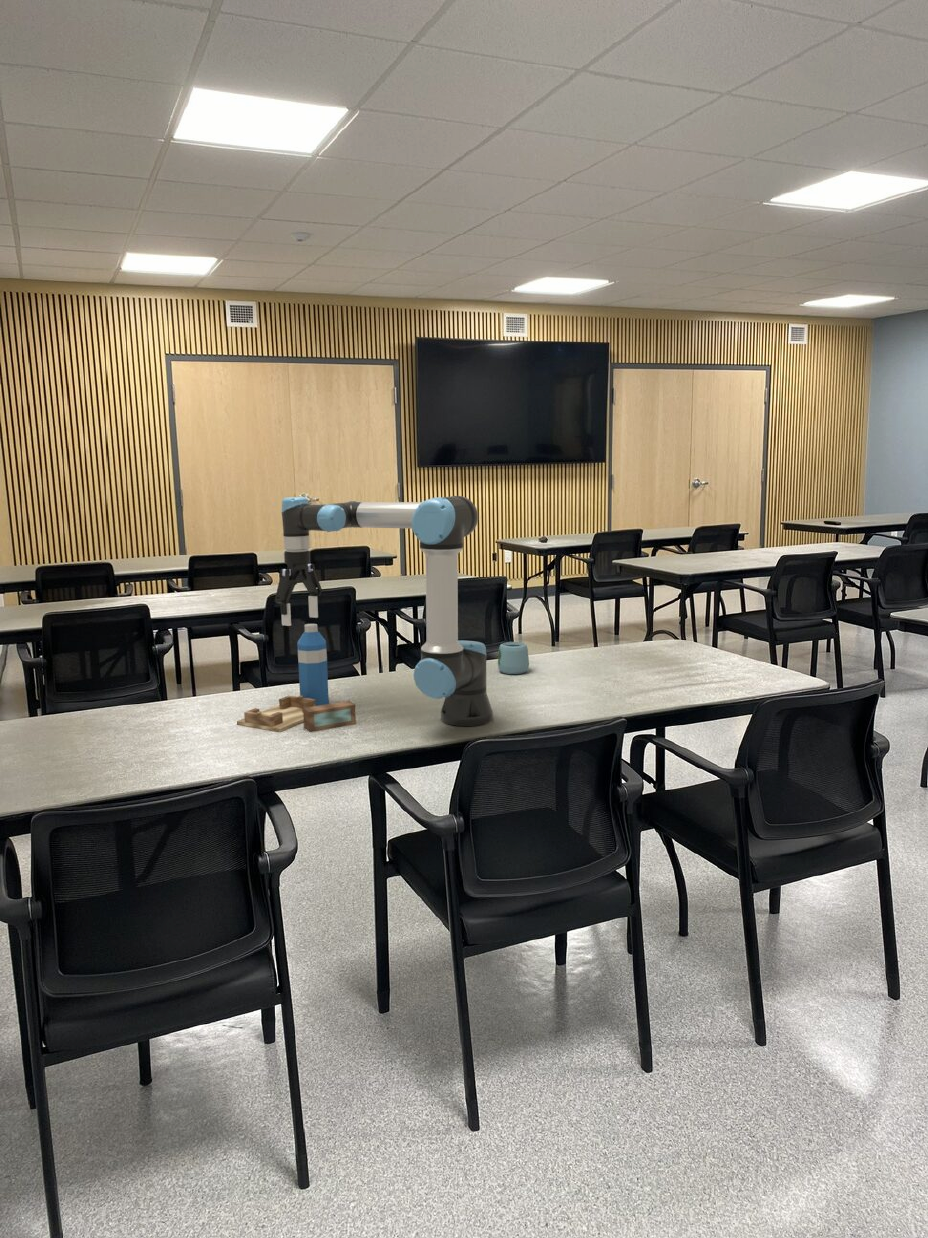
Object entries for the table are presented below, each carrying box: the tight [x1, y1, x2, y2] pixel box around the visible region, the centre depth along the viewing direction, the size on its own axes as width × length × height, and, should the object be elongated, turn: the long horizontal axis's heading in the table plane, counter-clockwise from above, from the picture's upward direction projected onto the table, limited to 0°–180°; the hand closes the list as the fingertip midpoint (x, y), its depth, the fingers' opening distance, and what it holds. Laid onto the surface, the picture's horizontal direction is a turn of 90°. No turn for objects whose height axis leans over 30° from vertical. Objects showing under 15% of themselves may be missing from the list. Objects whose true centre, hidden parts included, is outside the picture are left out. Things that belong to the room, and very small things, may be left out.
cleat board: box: [236, 694, 316, 733], centre depth 263 cm, size 16×20×5 cm
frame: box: [303, 700, 357, 733], centre depth 256 cm, size 14×5×6 cm, turn 120°
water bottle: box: [297, 623, 330, 706], centre depth 277 cm, size 9×9×25 cm
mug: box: [497, 641, 530, 675], centre depth 317 cm, size 15×11×10 cm
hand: (300, 621), depth 267 cm, fingers open, 13 cm apart
